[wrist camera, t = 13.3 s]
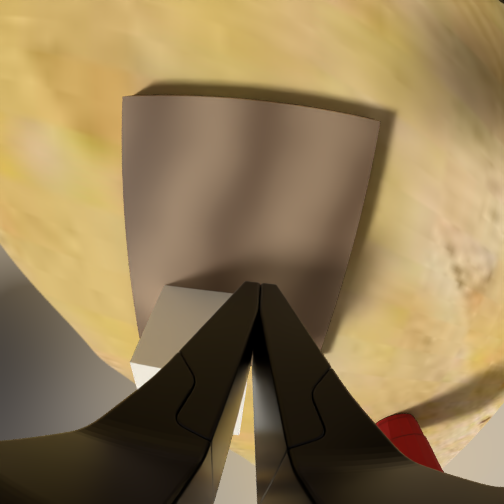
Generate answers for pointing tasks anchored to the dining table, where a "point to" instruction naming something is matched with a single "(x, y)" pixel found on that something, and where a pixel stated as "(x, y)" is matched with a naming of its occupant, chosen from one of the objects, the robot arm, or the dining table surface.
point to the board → (242, 198)
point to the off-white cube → (175, 330)
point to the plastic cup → (409, 439)
